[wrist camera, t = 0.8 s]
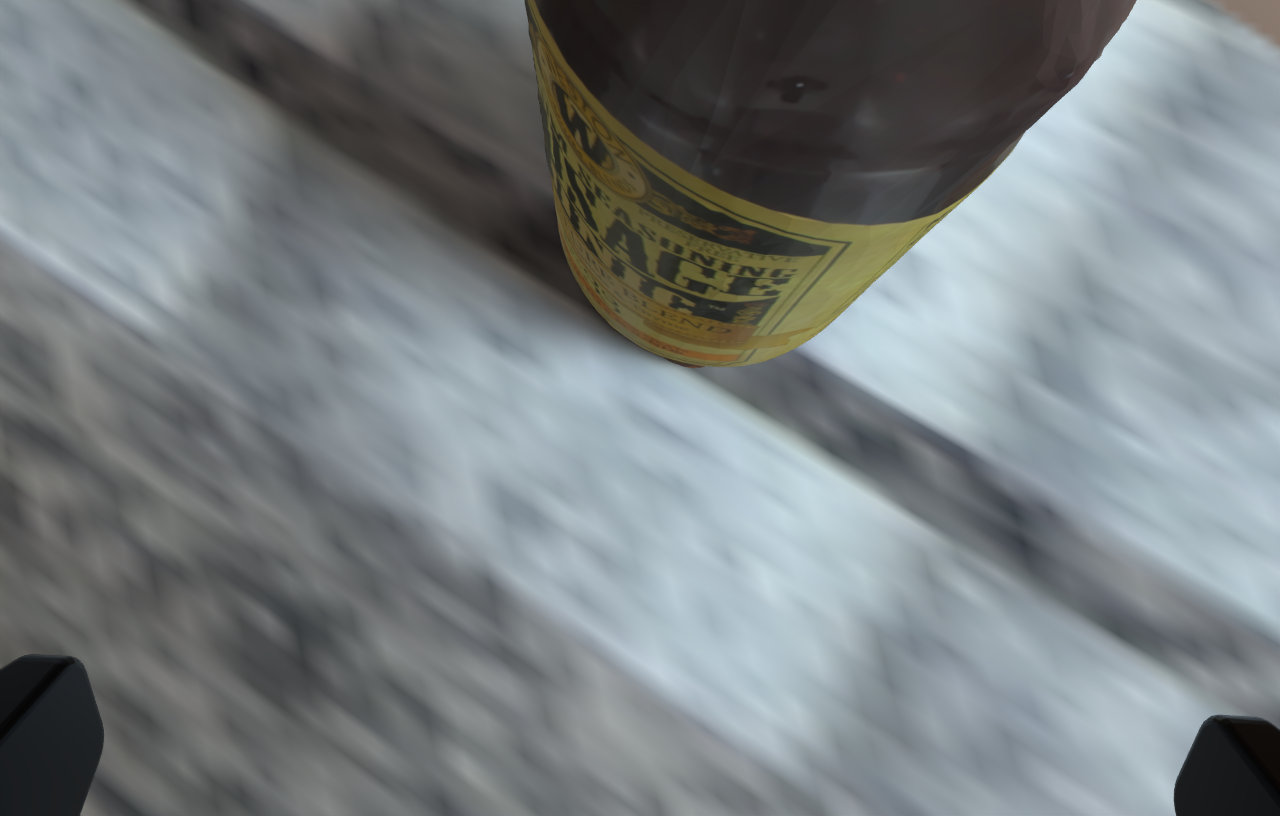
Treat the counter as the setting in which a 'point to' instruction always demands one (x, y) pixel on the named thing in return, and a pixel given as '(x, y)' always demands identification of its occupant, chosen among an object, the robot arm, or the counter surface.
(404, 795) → the counter surface
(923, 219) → the sauce bottle
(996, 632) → the counter surface
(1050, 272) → the counter surface
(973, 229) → the counter surface
